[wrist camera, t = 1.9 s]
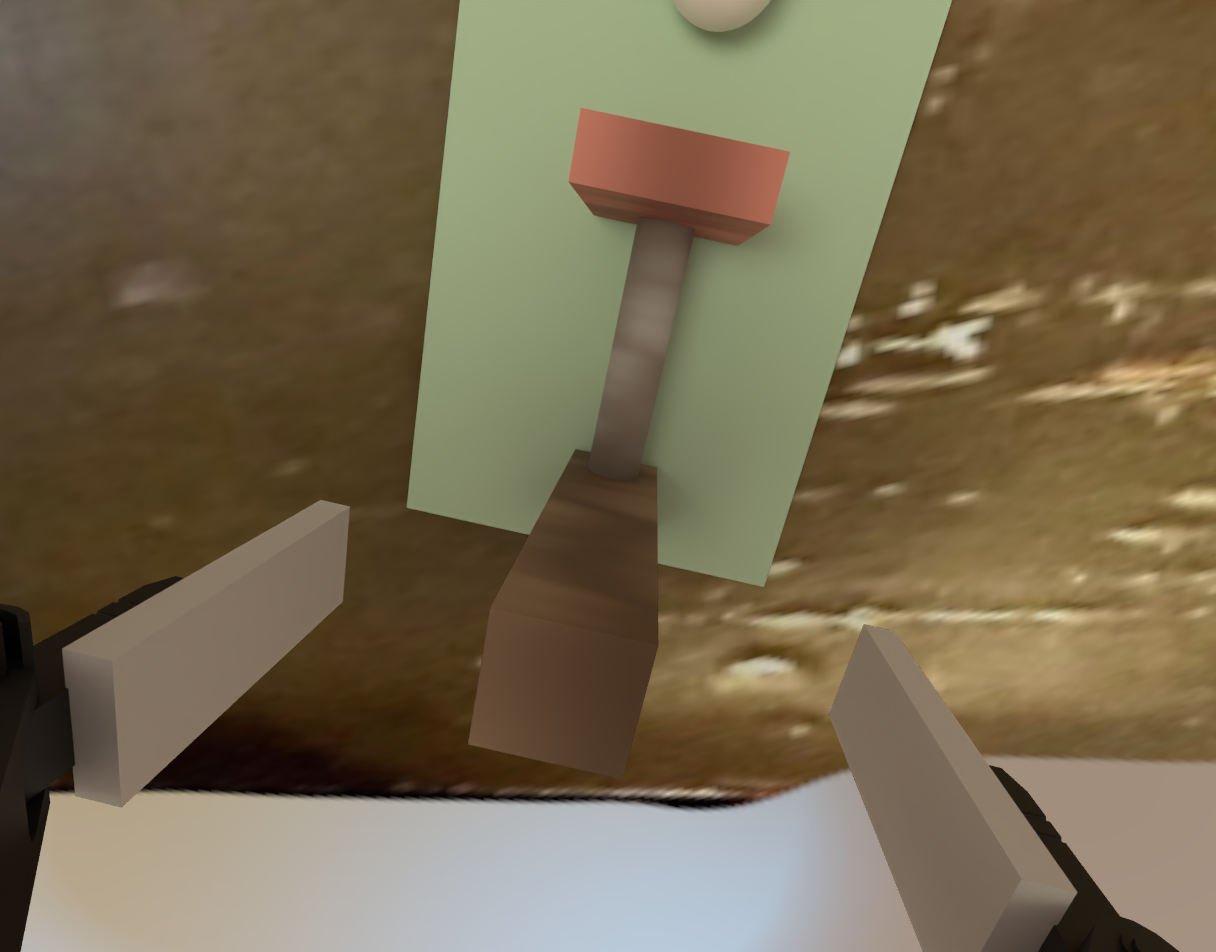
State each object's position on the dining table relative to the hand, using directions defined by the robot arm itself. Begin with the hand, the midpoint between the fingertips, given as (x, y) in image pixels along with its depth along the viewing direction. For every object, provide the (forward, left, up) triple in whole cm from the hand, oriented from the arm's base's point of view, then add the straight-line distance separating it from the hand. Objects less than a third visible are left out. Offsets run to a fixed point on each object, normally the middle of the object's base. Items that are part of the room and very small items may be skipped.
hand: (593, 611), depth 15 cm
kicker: (0, +5, -8) cm, 10 cm away
